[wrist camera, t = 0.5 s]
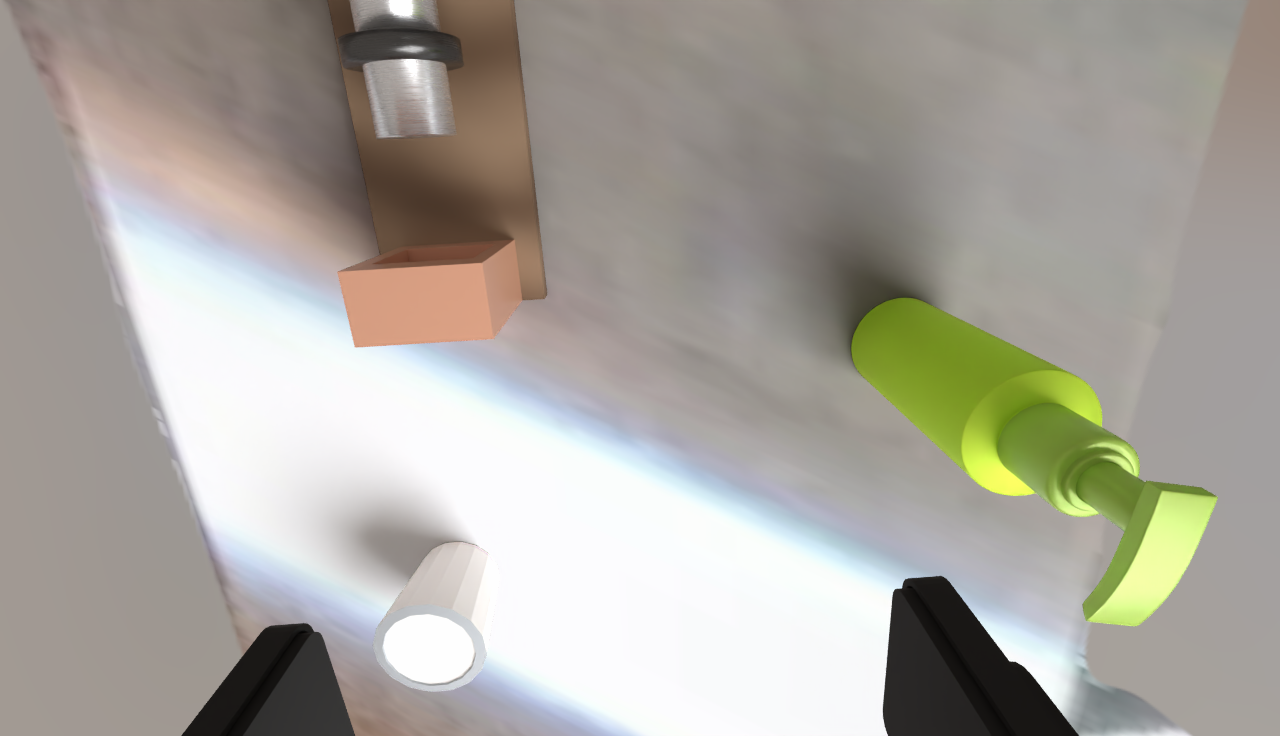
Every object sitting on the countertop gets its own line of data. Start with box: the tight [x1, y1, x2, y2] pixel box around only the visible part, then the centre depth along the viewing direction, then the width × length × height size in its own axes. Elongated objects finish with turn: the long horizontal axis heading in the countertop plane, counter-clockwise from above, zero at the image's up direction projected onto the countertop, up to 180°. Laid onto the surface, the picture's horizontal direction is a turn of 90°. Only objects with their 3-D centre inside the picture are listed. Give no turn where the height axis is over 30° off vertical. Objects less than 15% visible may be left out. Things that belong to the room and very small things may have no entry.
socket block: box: [338, 240, 522, 347], centre depth 30 cm, size 4×6×8 cm, turn 93°
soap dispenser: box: [851, 298, 1218, 626], centre depth 28 cm, size 6×7×20 cm
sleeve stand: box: [328, 0, 547, 300], centre depth 27 cm, size 28×9×8 cm, turn 3°
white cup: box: [373, 542, 500, 692], centre depth 39 cm, size 7×7×7 cm
